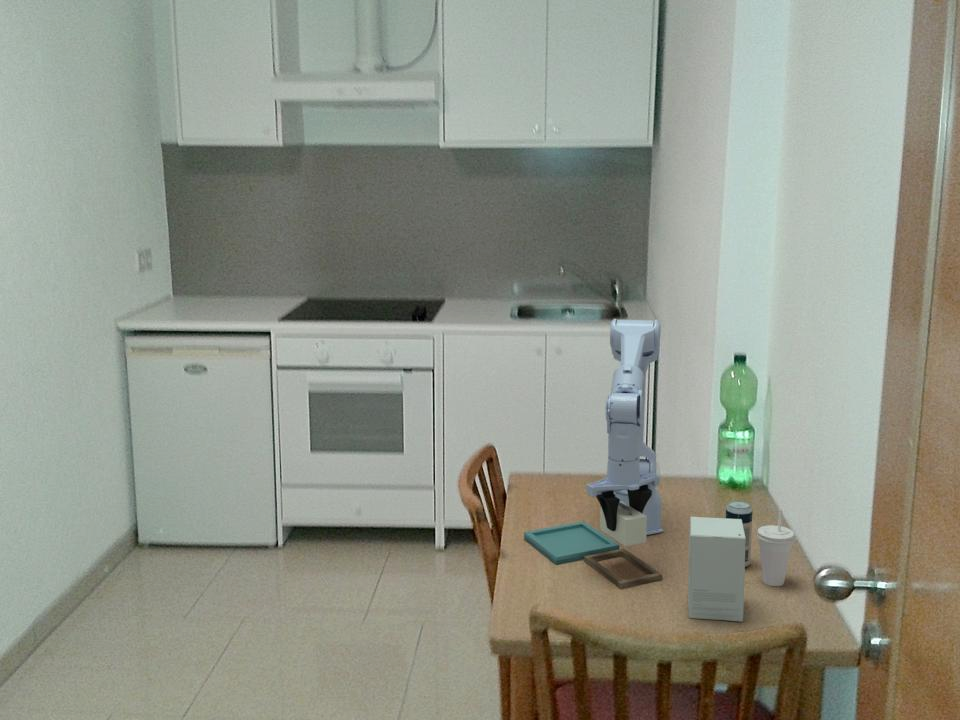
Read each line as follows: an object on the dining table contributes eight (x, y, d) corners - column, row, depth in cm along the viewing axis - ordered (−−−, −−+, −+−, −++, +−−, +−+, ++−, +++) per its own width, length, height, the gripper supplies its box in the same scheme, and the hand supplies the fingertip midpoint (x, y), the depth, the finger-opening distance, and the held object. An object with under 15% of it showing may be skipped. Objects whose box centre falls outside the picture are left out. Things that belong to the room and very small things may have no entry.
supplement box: (740, 598, 164) (743, 517, 161) (743, 623, 155) (747, 537, 152) (687, 595, 165) (689, 514, 162) (687, 618, 157) (690, 534, 154)
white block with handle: (620, 525, 179) (620, 495, 178) (646, 542, 171) (646, 510, 170) (600, 529, 178) (600, 498, 177) (625, 546, 170) (626, 514, 168)
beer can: (750, 560, 179) (753, 501, 177) (749, 570, 175) (751, 510, 172) (725, 557, 181) (727, 498, 178) (722, 567, 176) (725, 507, 174)
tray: (584, 527, 197) (584, 521, 197) (619, 552, 184) (619, 544, 184) (524, 539, 191) (524, 532, 191) (556, 564, 179) (556, 557, 179)
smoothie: (793, 590, 166) (797, 516, 163) (756, 588, 168) (759, 514, 165) (789, 575, 172) (793, 503, 170) (753, 573, 174) (756, 501, 171)
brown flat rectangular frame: (623, 553, 184) (623, 548, 184) (662, 579, 172) (662, 574, 171) (583, 561, 180) (583, 556, 180) (620, 588, 168) (621, 583, 168)
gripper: (600, 468, 165) (599, 541, 168) (669, 457, 171) (667, 527, 173) (580, 457, 171) (580, 527, 174) (648, 447, 177) (646, 515, 180)
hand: (622, 527), depth 174 cm, fingers closed on white block with handle, 4 cm apart
